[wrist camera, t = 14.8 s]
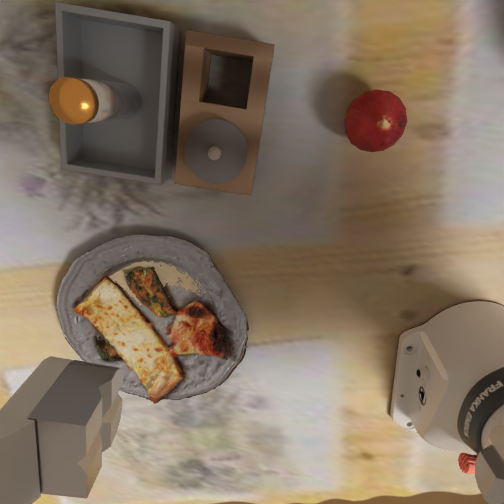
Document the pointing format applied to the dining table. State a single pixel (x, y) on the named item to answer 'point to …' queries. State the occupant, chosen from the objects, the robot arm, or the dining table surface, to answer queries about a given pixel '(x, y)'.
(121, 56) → the parts tray
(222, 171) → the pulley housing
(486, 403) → the robot arm
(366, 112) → the red round piece
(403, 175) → the dining table surface
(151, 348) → the food plate
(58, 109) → the pin
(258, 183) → the dining table surface
